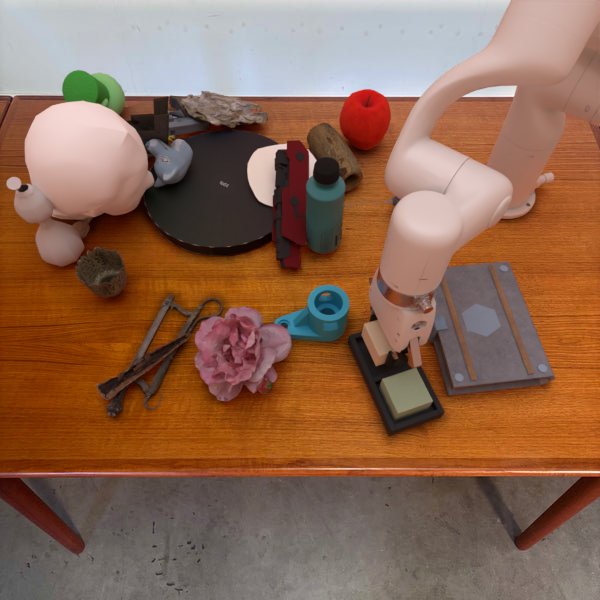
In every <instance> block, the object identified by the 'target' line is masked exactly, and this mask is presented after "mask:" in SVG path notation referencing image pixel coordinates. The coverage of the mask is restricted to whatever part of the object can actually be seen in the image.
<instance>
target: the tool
mask: <svg viewBox="0 0 600 600" xmlns="http://www.w3.org/2000/svg"><path fill="white" fill-rule="evenodd" d="M93 218H94V217H91V218H87V219H84V220H77V221H76V222H74V223H73V224H72V226H73V227H75V228H76V229H77V230H78V232H79V234H80V237H81V239H84V238H86V237H87V236H88V233H89V232H90V229H91V227H90V225H89V224H90V222H91V221H92V220H93Z"/></svg>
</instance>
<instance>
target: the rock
mask: <svg viewBox="0 0 600 600" xmlns="http://www.w3.org/2000/svg"><path fill="white" fill-rule="evenodd" d="M186 97H187V98H186V99H181V101H180V105H181V106H182V107H183V108H185V109H187V111H188V114H189V115H191V116H192V117H194V118H195V117H196V118H198V119H201V120H205V121H208V122H209V123H210V125H214V126H222V125H224V126H226V127H228V128H231V129H234V128H236V127H237V126H242V125H243V126H244V125H247V126H248V125H252V124H254V123H255V124H259V125H264V124H266V123H267V122H268V120H269V115H268V113H267V111H261V108H260V106H259V104H258V103H255V102H253V101H246V100H243V99H241V97H238V96H229V95H224V94H221V93H217V92H210V91H209V90H201V92H200V94H198V95H193V94H187V95H186Z"/></svg>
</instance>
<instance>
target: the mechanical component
mask: <svg viewBox="0 0 600 600" xmlns="http://www.w3.org/2000/svg"><path fill="white" fill-rule="evenodd" d="M286 144H287V149H278V150H277V152H276V158H275V171H276V177H275V187H276V189H275V190H274V195H273V220H274V221H273V222H272V241H271V242H272V243H274V244H275V261H279V265H280V269H284V270H292V271H298V270H300V269H301V265H302V264H301V262H302V261H301V260H302V258H301V257H300V256H301V249H302V247H305V246H306V244H307V242H306V239H307V233H306V220H305V218H306V192H307V190H306V184H307V181H308V180H309V151H310V150H309V149H308V148H307V147H306V146H305V145H304V144H303V142H302V141H301V140H299V139H298V140H296V139H295V140H294V139H293V140H286ZM307 149H308V150H309V151H308V150H307Z"/></svg>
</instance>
